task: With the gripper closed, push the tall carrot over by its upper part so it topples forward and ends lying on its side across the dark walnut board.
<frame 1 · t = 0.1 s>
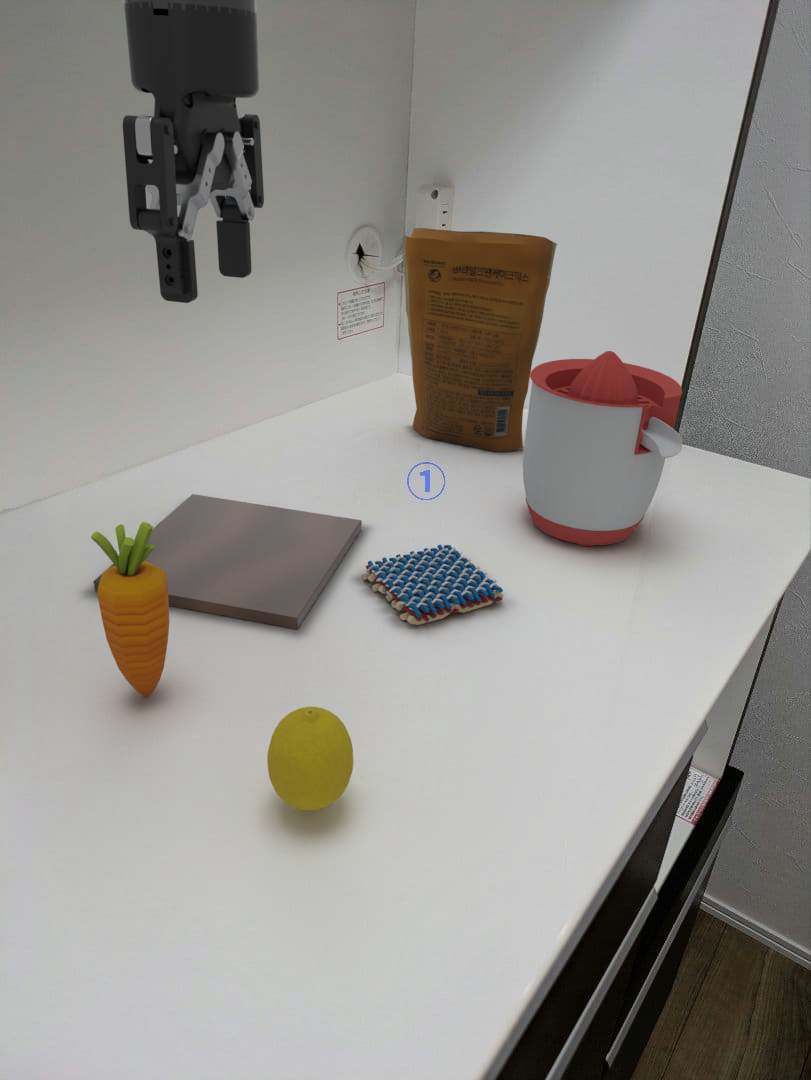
hand: (209, 287, 56), 30 cm above the worktop, tool pointing down, fingers open, 8 cm apart
carrot: (147, 697, 65), on the worktop
walnut board: (238, 558, 84), on the worktop
citrus juicer: (586, 528, 94), on the worktop
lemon: (311, 806, 56), on the worktop
pancake mix bag: (463, 442, 115), on the worktop
woven mat: (431, 592, 80), on the worktop
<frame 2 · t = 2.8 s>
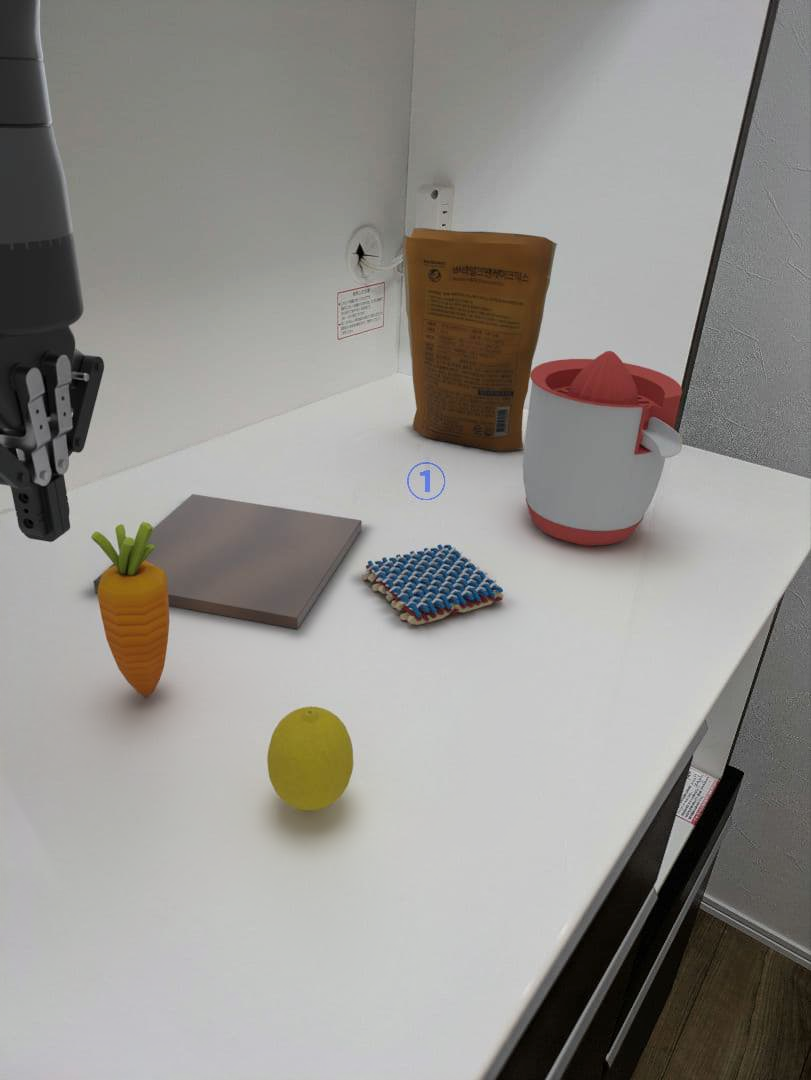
hand: (47, 534, 49), 18 cm above the worktop, tool pointing down, fingers closed
nothing on the worktop moved.
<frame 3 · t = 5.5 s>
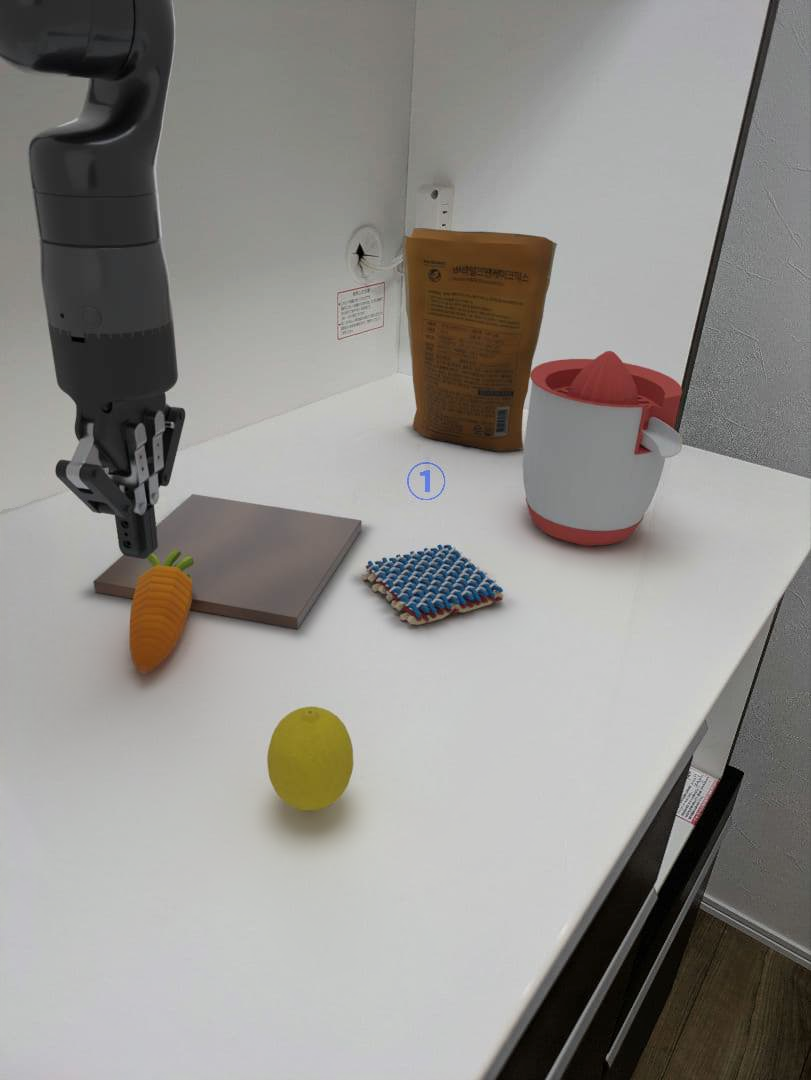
hand: (139, 552, 60), 12 cm above the worktop, tool pointing down, fingers closed
carrot: (142, 674, 64), point 2 cm above the worktop, touching walnut board
everything else where it was.
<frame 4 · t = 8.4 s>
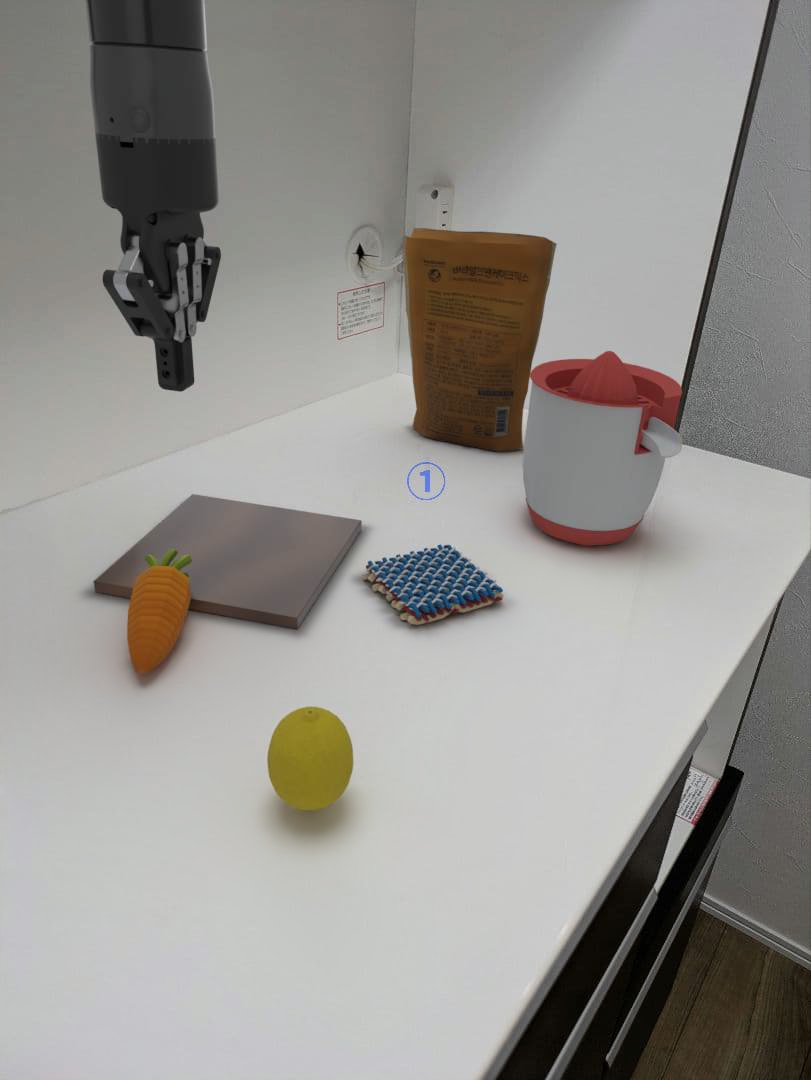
hand: (176, 387, 62), 22 cm above the worktop, tool pointing down, fingers closed
nothing on the worktop moved.
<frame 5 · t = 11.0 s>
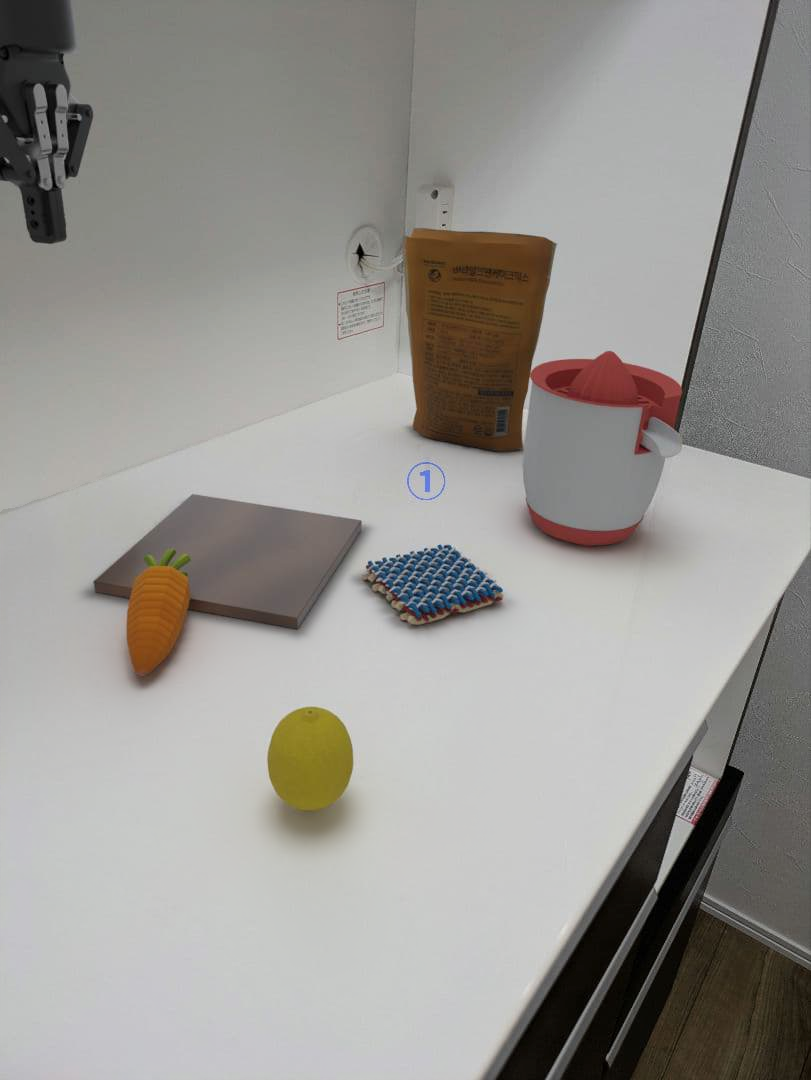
hand: (48, 241, 63), 31 cm above the worktop, tool pointing down, fingers closed
nothing on the worktop moved.
at the end: carrot tilted 81°; carrot touching worktop, walnut board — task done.
